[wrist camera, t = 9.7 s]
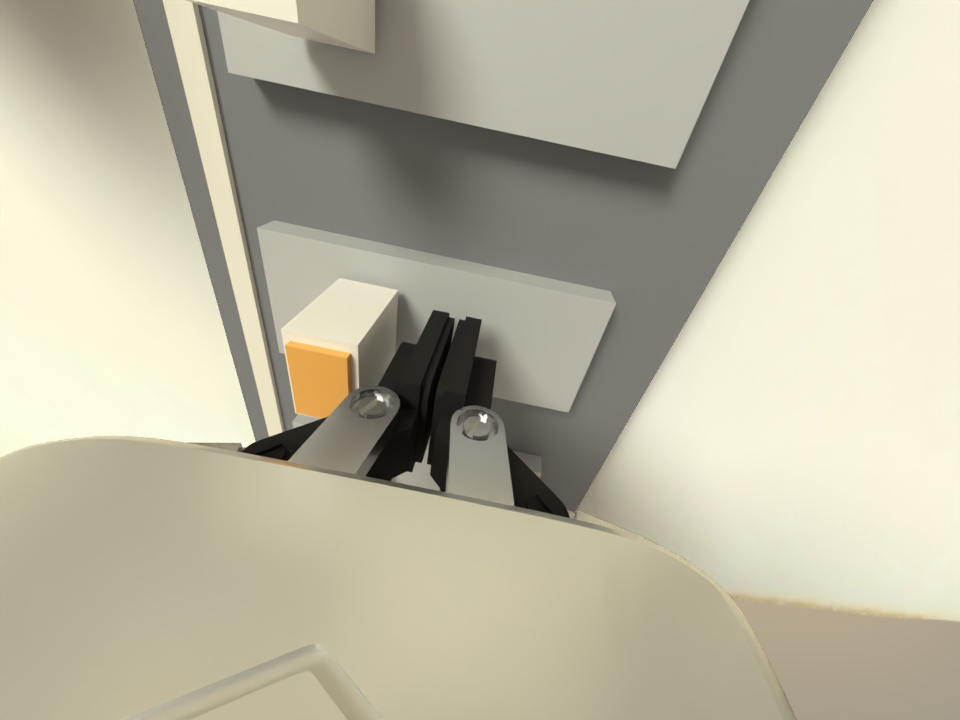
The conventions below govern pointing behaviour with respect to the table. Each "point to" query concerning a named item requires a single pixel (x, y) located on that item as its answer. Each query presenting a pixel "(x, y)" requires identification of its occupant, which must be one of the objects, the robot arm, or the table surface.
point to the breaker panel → (490, 183)
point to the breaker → (309, 19)
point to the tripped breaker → (339, 344)
